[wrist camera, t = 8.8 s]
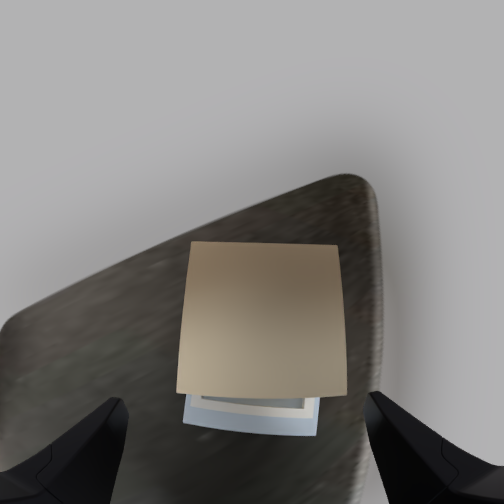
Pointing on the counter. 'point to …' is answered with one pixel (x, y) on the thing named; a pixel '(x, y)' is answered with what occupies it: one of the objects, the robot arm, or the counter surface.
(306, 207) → the counter surface
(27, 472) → the robot arm
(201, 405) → the board
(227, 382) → the birch pillar
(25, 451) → the counter surface
